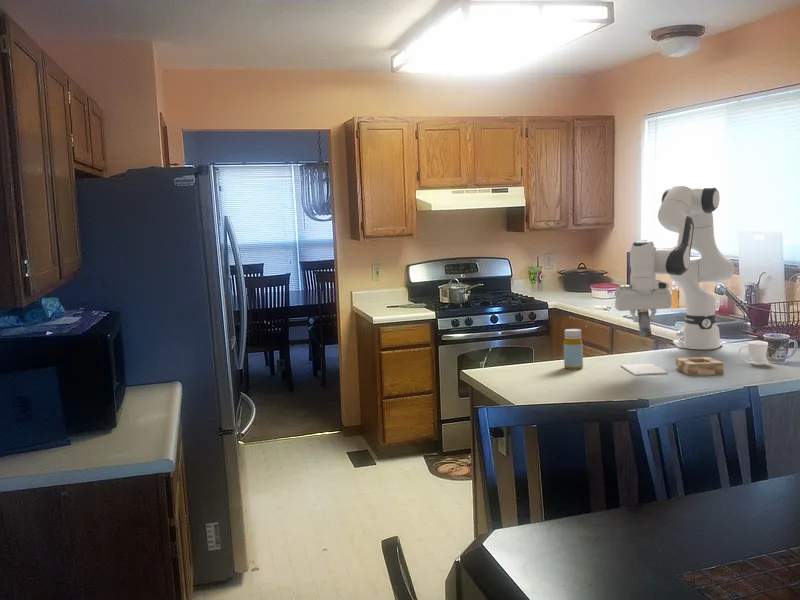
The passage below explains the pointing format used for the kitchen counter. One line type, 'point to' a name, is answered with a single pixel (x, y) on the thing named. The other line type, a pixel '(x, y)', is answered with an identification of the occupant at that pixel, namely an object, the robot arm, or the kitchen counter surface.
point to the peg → (644, 322)
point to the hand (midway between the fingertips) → (643, 321)
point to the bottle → (573, 349)
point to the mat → (644, 369)
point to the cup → (756, 351)
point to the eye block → (699, 366)
